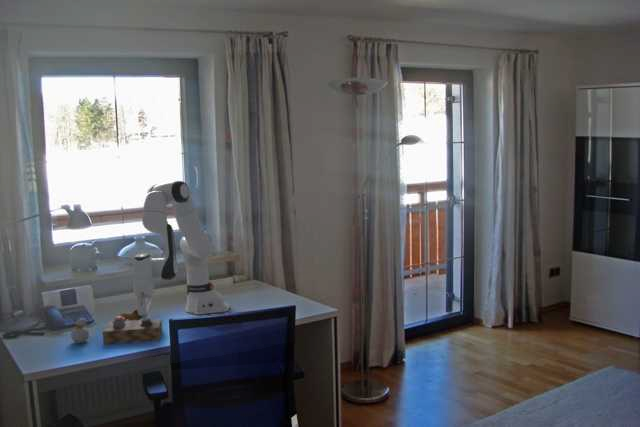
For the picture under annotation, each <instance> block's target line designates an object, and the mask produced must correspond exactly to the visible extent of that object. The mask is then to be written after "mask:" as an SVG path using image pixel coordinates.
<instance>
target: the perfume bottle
mask: <svg viewBox="0 0 640 427" xmlns="http://www.w3.org/2000/svg"><path fill="white" fill-rule="evenodd" d="M86 325H87V319H86V318H83V317H80V316H78V318H77V322H75V327H74V328H73V330H72V331H71V335H70V336H71V340H72V341H73V343H76V344H83V343H85V342H87V341H88V339H89V337H90V333H89V330H88V329H87V328H86V327H85V326H86Z"/></svg>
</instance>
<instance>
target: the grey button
mask: <svg viewBox="0 0 640 427" xmlns="http://www.w3.org/2000/svg"><path fill="white" fill-rule="evenodd" d="M141 320H142V322H141V326H150V325H152V320H151V318H148V319H147V321H143V319H141Z"/></svg>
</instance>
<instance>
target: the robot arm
mask: <svg viewBox="0 0 640 427" xmlns="http://www.w3.org/2000/svg"><path fill="white" fill-rule="evenodd" d="M194 202H195V201H194V200H193V198H192V195H191V194H190V187H189V186H188V183H186V182H185V181H181V180H175V181H166V182H163V183H159V184H154V185H151V186H150V187H149V188H148V189H147V192H146V196H145V200H144V204H143V208H142V218H141V221H142V226H143V227H144V228H145V229H146V230H147V231H148V232H150V233H152V234H154V235H157V236H159V237H161V238H162V239H163V241H164V242H163V243H164V251H165V256H164V257H156V258H155V257H151V254H150V253H145V252H143V253H142V252H141V253H138V254H136V255H134V256H133V260H132V276H133V284H132V285H133V295H134V296H135V297H136V299H137V309H138V315H139V316H143V318H142V320H143V321H147V319H149V316H148V314H149V309H150V307H151V305H152V298H153V294H155V286H154V280H165V281H166V280H167V281H171V280H172V279H174V278H175V277H177V276H178V272H179V267H178V261H177V254H176V245H175V234H174V230H173V226H172V225H171V224H170V223H168V219H167V216H168V215H167V214H168V206H172V207H171V208H172V211H173V214H174V216H175V217H174V218H175V221H176V224H177V226H178V227H177V228H178V229H179V231H180V232H181V234H182V237H181V238H180V241H179V247H180V249H181V252H182V255H183V260H184V263H185V268H186V279H187V280H186V282H187V283H186V286H185V287H186V295H187V297H186V298H187V300H186V301H187V302H186V307H185V312H186V313H188V314H195V315H198V314H199V315H207V314H215V313H223V312H224V313H225V312H227V311H229V310H230V304H229V303H227V302H226V300H225V297H224V296H223V294H222V293H221V292H218V291H217V290H215V289H214V288H215V286H214V283H213V282H210V279H209V278H210V275H209V267H208V266H209V265H208V264H207V261H206V259H207V258H209V257H211V256H212V254H213V253H214V249H215V248H214V244H213V243H212V242H211V240H210V239H209V236H208V235H207V233H206V230H205V229H204V227H203V225H202V222H201V220H200V217H199V215H198V211H197V207H196V205H195V203H194Z"/></svg>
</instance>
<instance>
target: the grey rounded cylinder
mask: <svg viewBox="0 0 640 427" xmlns="http://www.w3.org/2000/svg"><path fill="white" fill-rule="evenodd" d="M112 322H113V328H119V327H124V326H125V318H123V316H120V315H116V316H114V317H113V321H112Z"/></svg>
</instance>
